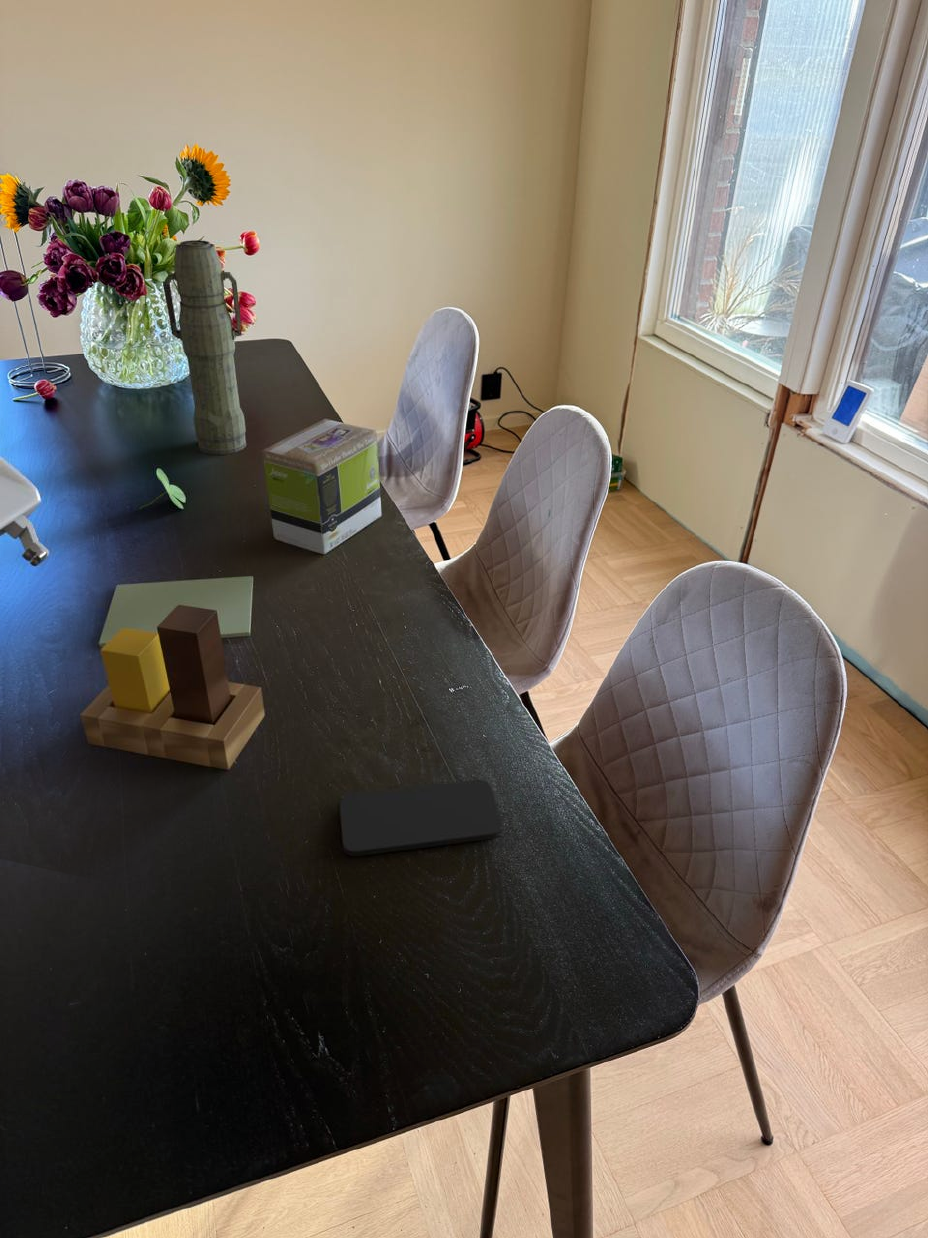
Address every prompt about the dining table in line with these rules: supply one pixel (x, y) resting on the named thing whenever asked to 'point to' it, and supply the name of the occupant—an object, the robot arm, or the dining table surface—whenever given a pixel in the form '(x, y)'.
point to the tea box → (323, 484)
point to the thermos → (208, 344)
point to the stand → (176, 729)
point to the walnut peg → (195, 664)
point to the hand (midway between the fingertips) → (13, 582)
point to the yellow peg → (136, 670)
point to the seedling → (169, 490)
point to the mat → (159, 599)
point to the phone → (418, 817)
